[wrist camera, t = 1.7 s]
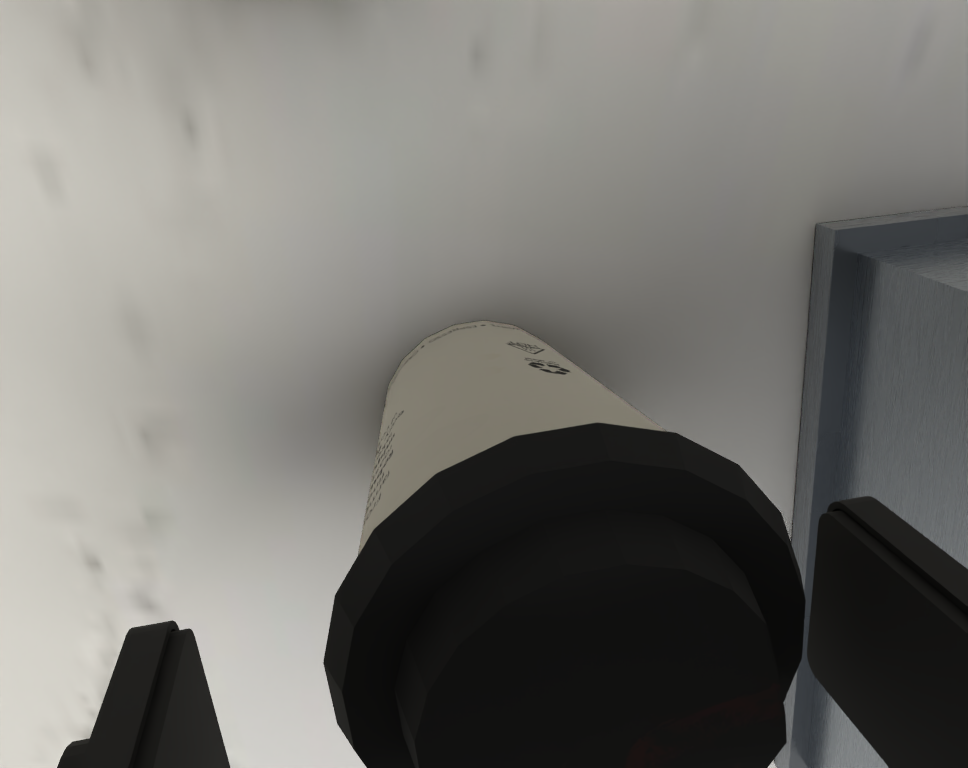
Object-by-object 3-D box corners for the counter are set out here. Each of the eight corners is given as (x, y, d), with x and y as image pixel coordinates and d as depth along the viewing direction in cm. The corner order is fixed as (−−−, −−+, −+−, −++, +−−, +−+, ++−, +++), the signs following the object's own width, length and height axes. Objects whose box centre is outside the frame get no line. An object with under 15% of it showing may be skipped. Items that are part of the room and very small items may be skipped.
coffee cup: (272, 445, 19) (202, 810, 9) (455, 206, 17) (582, 359, 8) (498, 580, 21) (618, 975, 12) (674, 380, 20) (962, 649, 11)
